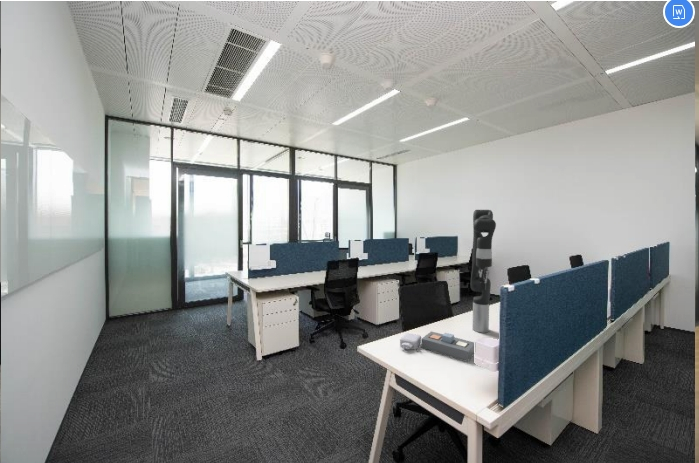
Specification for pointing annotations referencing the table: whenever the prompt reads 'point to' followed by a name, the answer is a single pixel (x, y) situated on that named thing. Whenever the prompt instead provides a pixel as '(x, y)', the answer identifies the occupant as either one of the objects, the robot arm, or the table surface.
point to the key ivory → (462, 344)
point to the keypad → (448, 347)
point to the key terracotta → (435, 337)
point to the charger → (410, 341)
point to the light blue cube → (448, 338)
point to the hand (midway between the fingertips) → (483, 289)
